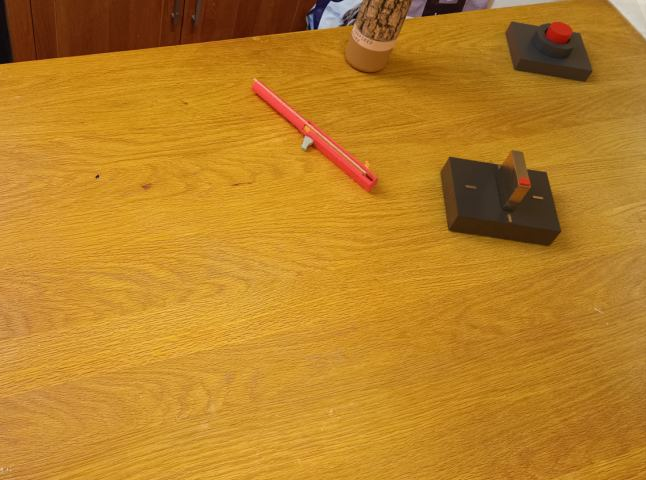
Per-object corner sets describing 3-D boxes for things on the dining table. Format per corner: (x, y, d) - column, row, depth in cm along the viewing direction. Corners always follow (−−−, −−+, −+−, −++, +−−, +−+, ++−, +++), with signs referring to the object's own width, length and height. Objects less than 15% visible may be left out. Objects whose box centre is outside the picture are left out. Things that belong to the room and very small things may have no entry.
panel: (535, 187, 105) (547, 171, 102) (549, 246, 99) (562, 230, 96) (440, 172, 104) (449, 155, 101) (448, 230, 98) (458, 214, 95)
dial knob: (495, 174, 101) (512, 148, 97) (506, 176, 101) (524, 150, 97) (501, 209, 97) (519, 183, 93) (513, 211, 97) (532, 185, 93)
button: (564, 33, 120) (570, 23, 119) (568, 46, 118) (575, 37, 117) (543, 29, 120) (549, 19, 119) (547, 42, 118) (553, 33, 117)
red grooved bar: (358, 201, 100) (383, 180, 101) (359, 193, 98) (385, 171, 99) (240, 99, 108) (264, 81, 109) (239, 90, 106) (263, 71, 107)
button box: (573, 44, 125) (586, 23, 122) (585, 82, 120) (599, 61, 117) (505, 32, 125) (516, 11, 121) (514, 70, 119) (526, 48, 116)
